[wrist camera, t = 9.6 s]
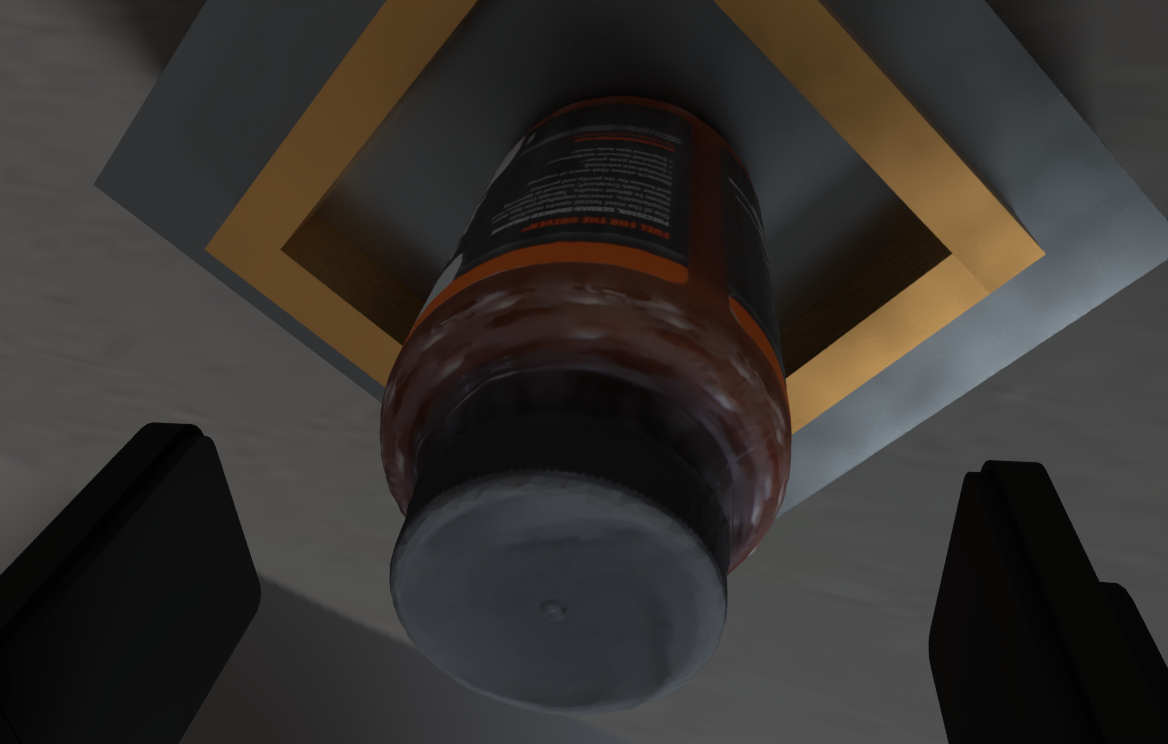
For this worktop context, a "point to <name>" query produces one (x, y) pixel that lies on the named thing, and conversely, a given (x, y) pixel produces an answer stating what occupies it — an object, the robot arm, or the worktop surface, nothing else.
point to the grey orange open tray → (706, 90)
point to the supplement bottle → (589, 415)
